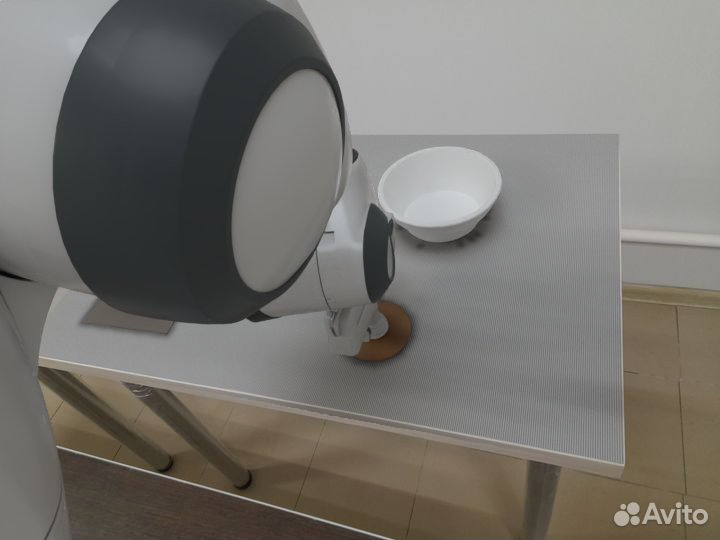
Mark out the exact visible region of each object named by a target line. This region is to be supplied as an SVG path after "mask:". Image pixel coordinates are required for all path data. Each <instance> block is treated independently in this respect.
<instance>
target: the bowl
mask: <svg viewBox="0 0 720 540" xmlns="http://www.w3.org/2000/svg"><path fill="white" fill-rule="evenodd" d="M502 186H503V177H502V174H501V171H500V169H499V167H498V166H497V165H496V163H495V162H494V161H493V160H492V159H490V158H489V157H488V156H487V155H486V154H484V153H481V152H479V151H478V150H473V149H471V148H467V147H461V146H452V145H451V146H450V145H449V146H448V145H443V146H442V145H441V146H432V147H428V148H423V149H419V150H417V151H413V152H411V153H408V154H407V155H404V156H402V157H401V158H400V159H398V160H396V161H395V162H393V163H392V164H391V165H390V166H389V167H388V168H387V169H386V170H385V172H384V173H383V174H382V176H381V178H380V180H379V183H378V185H377V192H376V195H377V201H378V202H379V204H380V206H381V208H382V209H383V210H384V212H389V213H393V215H394V219H395V224H397V225H399V226H400V227H401V228H403V229H404V230H405V229H406V230H407V231H408V232H409V233H410V234H411V235H412V236H414V237H415V238H417V239H420V240H422V241H425V242H431V243H447V242H451V241H455V240H458V239H461V238H463V237H464V236H466V235H468V234H469V233H471V232H472V231H473V230H474V229H475V228H476V226H477V225H478V223H479V222H480V221H481V220H482V219H484V218H485V216H487V214H488V213H489V212H490V210H491V209H492V207H493V206H494V205H495V202H496V201H497V200H498V198H499V195H500V194H501V191H502V188H503V187H502Z"/></svg>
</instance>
